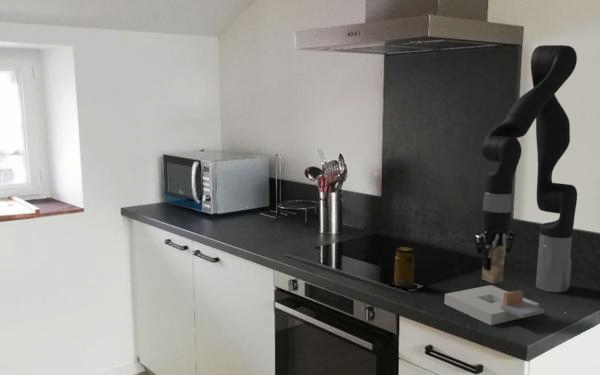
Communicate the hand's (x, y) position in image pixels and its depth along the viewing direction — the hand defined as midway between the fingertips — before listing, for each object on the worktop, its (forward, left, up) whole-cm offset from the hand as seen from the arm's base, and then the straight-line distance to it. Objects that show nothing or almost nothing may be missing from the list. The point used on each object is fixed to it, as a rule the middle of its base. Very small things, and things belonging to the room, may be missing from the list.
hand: (493, 268), depth 168 cm
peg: (0, 0, -3) cm, 3 cm away
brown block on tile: (0, +11, -9) cm, 14 cm away
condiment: (+9, -27, -12) cm, 31 cm away
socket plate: (0, 0, -12) cm, 12 cm away
